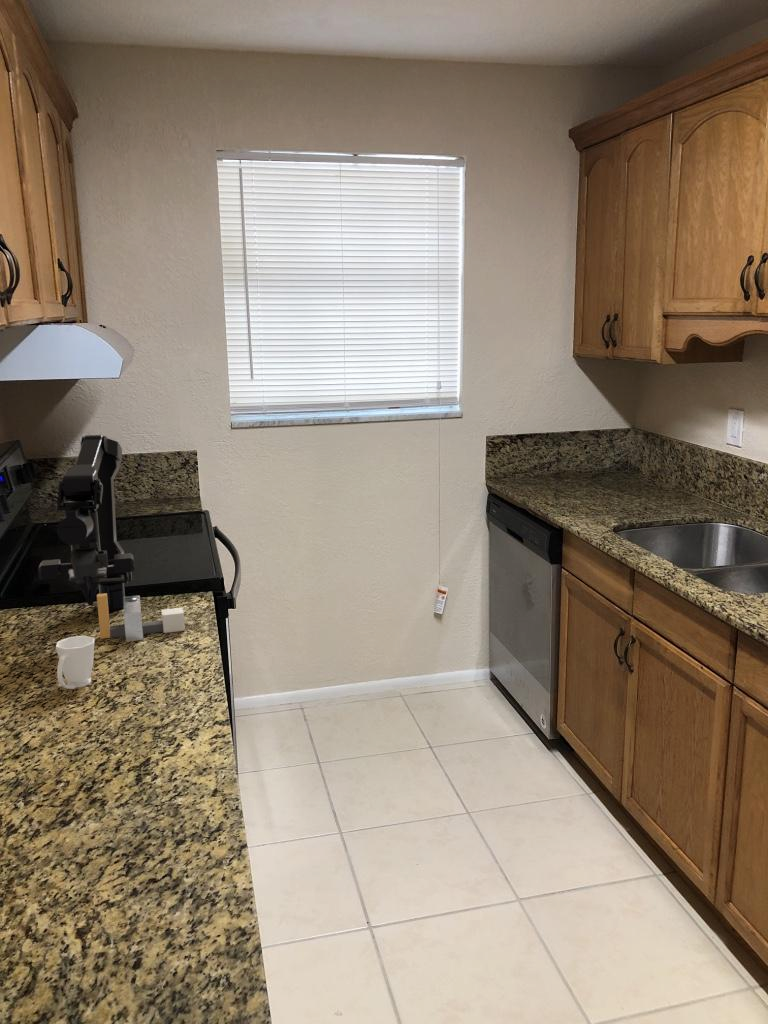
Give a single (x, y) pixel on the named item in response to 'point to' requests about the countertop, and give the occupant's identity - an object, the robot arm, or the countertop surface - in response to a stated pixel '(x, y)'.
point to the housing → (133, 618)
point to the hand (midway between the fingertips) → (91, 605)
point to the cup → (75, 661)
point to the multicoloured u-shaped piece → (169, 623)
